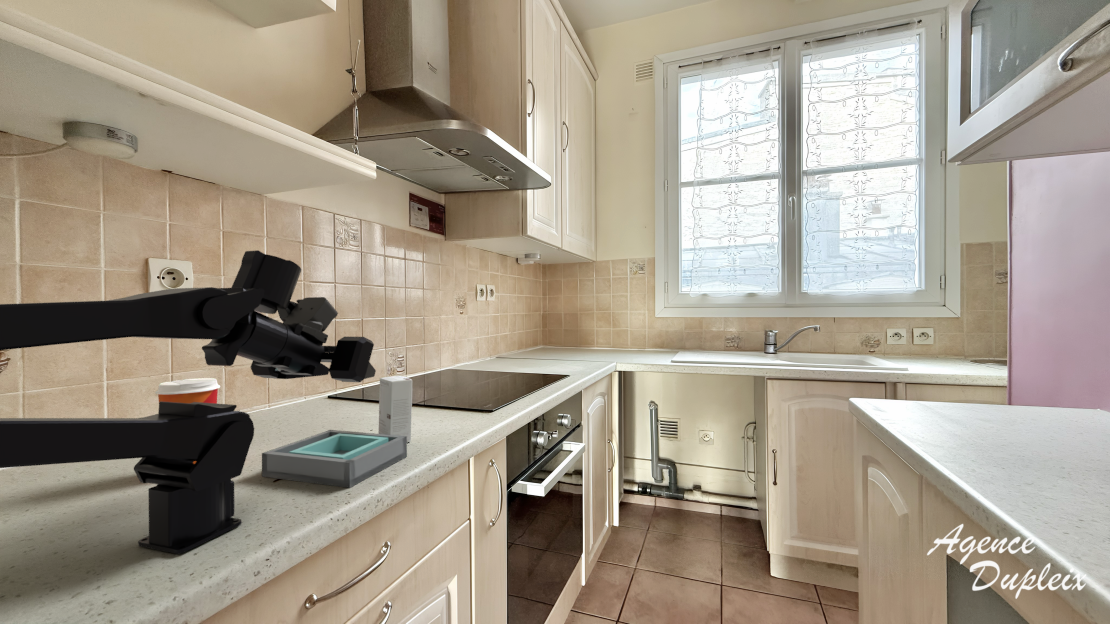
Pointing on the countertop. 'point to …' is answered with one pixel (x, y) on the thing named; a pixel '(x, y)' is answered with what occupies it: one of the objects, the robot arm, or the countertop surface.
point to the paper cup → (189, 391)
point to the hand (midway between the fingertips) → (350, 372)
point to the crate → (334, 457)
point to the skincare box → (395, 406)
